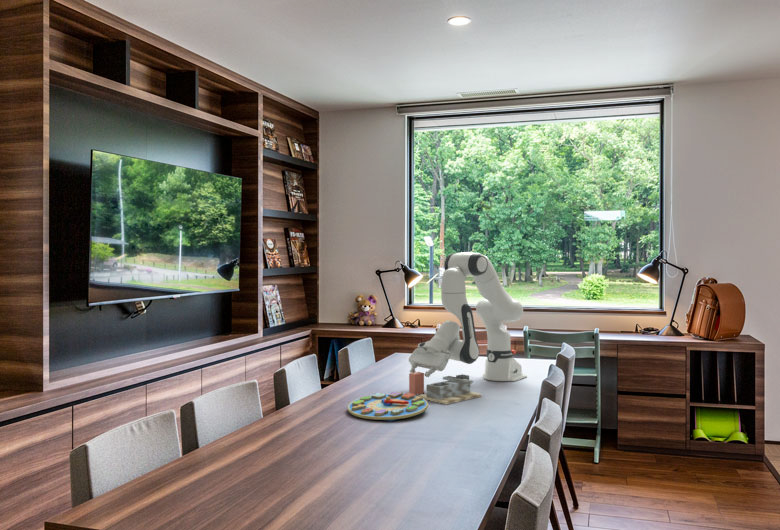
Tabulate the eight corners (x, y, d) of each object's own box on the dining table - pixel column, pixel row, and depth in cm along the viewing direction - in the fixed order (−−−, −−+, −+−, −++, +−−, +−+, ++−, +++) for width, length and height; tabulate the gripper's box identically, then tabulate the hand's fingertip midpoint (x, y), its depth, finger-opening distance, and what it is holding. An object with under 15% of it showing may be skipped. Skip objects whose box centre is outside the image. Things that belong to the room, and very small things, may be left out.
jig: (453, 390, 280) (453, 372, 280) (481, 396, 268) (481, 377, 268) (418, 397, 265) (418, 378, 265) (446, 404, 253) (446, 384, 253)
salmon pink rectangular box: (418, 392, 276) (418, 371, 276) (423, 393, 273) (424, 373, 273) (409, 394, 272) (409, 373, 272) (414, 395, 270) (414, 374, 270)
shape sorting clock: (331, 412, 241) (331, 397, 241) (385, 399, 263) (386, 385, 263) (390, 428, 220) (390, 410, 220) (444, 412, 242) (444, 396, 242)
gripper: (455, 357, 273) (439, 382, 267) (423, 352, 289) (407, 375, 283) (448, 348, 270) (431, 373, 264) (416, 343, 286) (399, 366, 280)
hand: (418, 374), depth 273 cm, fingers open, 8 cm apart
